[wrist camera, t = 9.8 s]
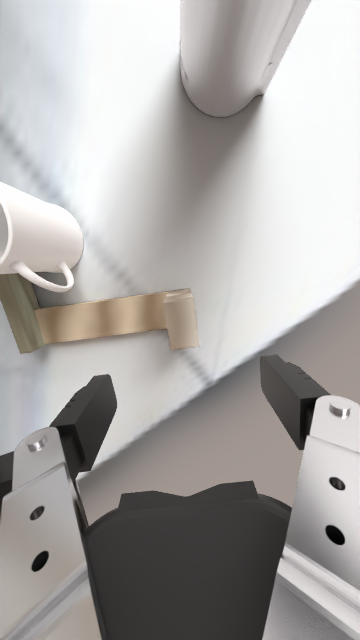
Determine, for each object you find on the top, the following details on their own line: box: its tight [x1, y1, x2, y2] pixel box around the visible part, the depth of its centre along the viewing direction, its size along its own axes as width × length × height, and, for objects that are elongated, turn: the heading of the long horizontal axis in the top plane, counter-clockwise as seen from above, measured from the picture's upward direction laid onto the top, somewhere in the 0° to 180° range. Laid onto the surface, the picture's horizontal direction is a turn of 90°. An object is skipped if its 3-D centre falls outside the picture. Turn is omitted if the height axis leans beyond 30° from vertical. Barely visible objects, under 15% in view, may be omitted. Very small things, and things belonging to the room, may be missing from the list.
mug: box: [0, 182, 84, 292], centre depth 22 cm, size 12×8×12 cm
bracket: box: [0, 273, 199, 354], centre depth 24 cm, size 23×19×9 cm
